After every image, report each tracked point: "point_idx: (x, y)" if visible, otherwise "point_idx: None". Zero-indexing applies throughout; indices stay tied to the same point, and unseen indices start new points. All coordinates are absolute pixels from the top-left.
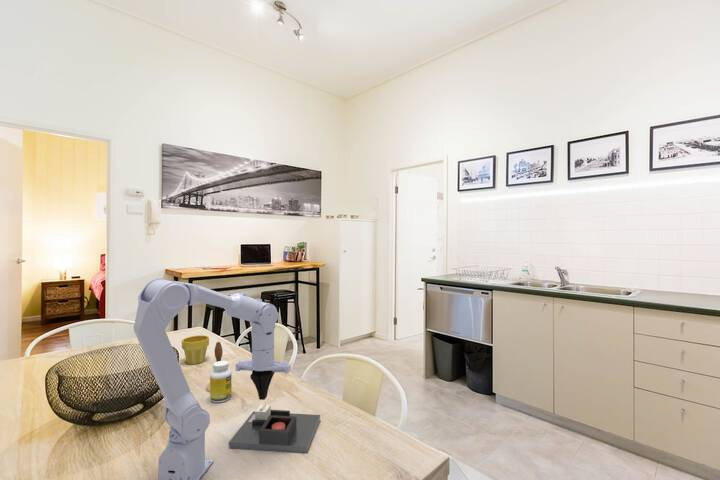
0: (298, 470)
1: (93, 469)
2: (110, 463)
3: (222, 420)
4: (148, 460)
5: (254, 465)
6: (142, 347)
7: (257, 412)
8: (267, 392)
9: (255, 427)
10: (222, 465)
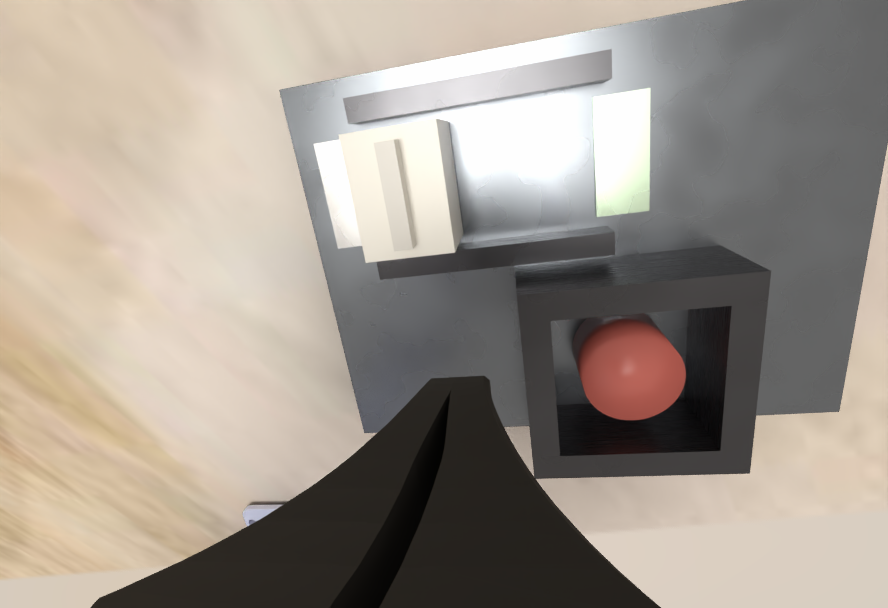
0: (787, 502)
1: (33, 562)
2: (44, 537)
3: (150, 196)
4: (138, 514)
5: (560, 496)
6: None
7: (388, 259)
8: (490, 397)
9: (422, 287)
10: None
